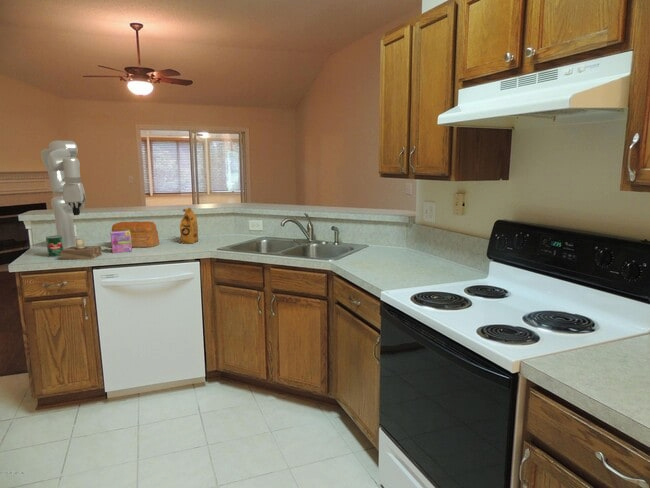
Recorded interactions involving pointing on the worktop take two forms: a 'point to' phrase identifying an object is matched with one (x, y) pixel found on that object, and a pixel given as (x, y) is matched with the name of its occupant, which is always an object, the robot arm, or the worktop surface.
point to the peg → (80, 244)
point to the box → (121, 241)
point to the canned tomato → (54, 245)
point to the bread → (139, 233)
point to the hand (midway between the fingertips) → (76, 214)
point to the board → (80, 253)
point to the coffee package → (189, 227)
